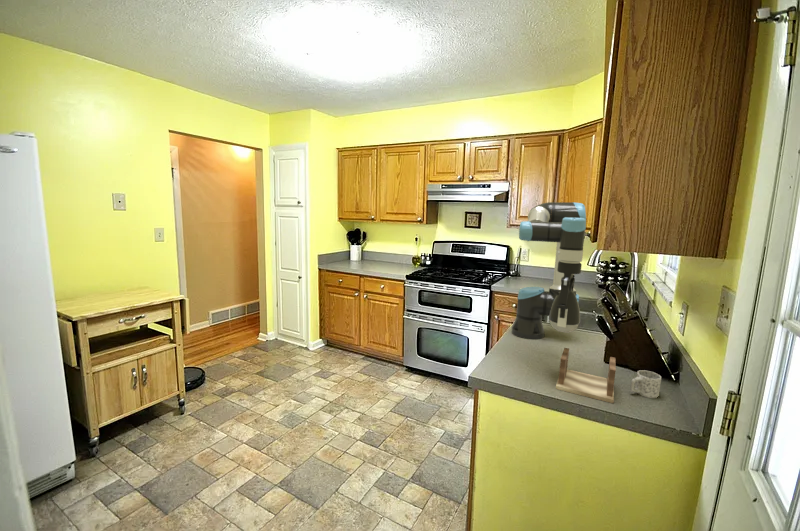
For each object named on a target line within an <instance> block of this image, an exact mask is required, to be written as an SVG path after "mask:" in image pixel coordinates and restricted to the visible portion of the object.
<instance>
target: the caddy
mask: <svg viewBox="0 0 800 531" xmlns="http://www.w3.org/2000/svg"><path fill="white" fill-rule="evenodd" d="M569 355H570V348H568V347H564V348H563V351H562V354H561V356H560V361H559V368H558V369H559V370H558V378H557V381H556V384H555V390H558V391H562V392H567V393H571V394H575V395H578V396H579V395H580V396H583V397H587V398H591V399H594V400H599V401H603V402H606V403H611V404H614V402H615V401H614V400H615V397H614V396H615V395H614V394H615V393H614V392H615V379H616V378H615V377H616V370H617V369H616V365H617V364H616V357H613V356H610V357H609V363H608V370H607V377H603V376H599V375H595V374H589V373H585V372H582V371H581V372H580V371H576V370H571V369H568V365H569V357H570V356H569Z"/></svg>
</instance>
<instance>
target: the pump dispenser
mask: <svg viewBox="0 0 800 531" xmlns="http://www.w3.org/2000/svg"><path fill="white" fill-rule="evenodd" d="M551 291H552V292H553V293H555V294H556V295H557V296H556V298H555V299H554V301H553V304H552V306H551V310H550V314H549V316H548V320H549V323H550V325H551V327H552V328H553V329H554V330H555V331H558V332H561V333H571V332H574V331H576V330H577V328H578V327H579V324H580V323H581V310H580V306H579V302H578V301H577V298H576V296H575V294H574V292H573V291H572V290H571V291H570V293H569V299H568V305H567V309H568V311H567V321H566V328H565V327H560V326H557V322H558V312H559V308H557V306H558V305H559V298H560V292H558V291H556V290H554V289H552V290H551ZM563 305H565V304H563Z"/></svg>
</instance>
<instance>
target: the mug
mask: <svg viewBox="0 0 800 531" xmlns="http://www.w3.org/2000/svg"><path fill="white" fill-rule="evenodd" d="M661 383H662V376H661V375H660V374H658V373H656V372H654V371H650V370H645V369H644V370H641V369H640V370H637V373H636V377H634V378H632V379H631V380H630V385H629V386H630V387H629V388H630V392H632V393H637V395H640V396H641V397H646V398H649V399H657V397H658V396H660V389H661ZM658 398H659V397H658Z"/></svg>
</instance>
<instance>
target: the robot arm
mask: <svg viewBox="0 0 800 531" xmlns="http://www.w3.org/2000/svg"><path fill="white" fill-rule="evenodd" d="M586 228H587V213H586V206H585V204H583V203H582V202H575V201H574V202H570V201H569V202H564V201H563V202H559V201H558V202H557V201H555V202H554V201H553V202H552V201H551V202H549V201H548V202H544V203H540V204H537V205H535V206H533V207H532V208H531V209H530V210H529V212H528V213H527V221H526V220H525V221H524V220H523V221H521V222H520V223H519V229H518V231H519V232H518V238H519V240H521V241H527V242H543V243H544V242H547V243H549V242H550V243H556V248H555V249H556V251H555V258H554V259H555V261H554V268H553V269H554V271H553V281H552V283H553V284H552V285H551V286H549V288H548V291H546V290H545V288H544V287H541V286H526V287H525V286H524V287H522V288H520V289H519V290H518V294H517V304H516V305H517V306H516V315H515V316H516V317H515V319H514V322H513V324H512V327H511V334H513V335H514V336H517V337H519V338H522V339H528V340H540V339H543V338H544V337H545V329H544V326H543V322H542V320H543V319H542V318H543V316H544V317H545V316H547V317H549V314H550V310H551V306H552V304H553V301H554V299H555V298H556V296H557V295H556V294H555V293H553V292H552V291H551V290H552V289H554V290H556V291H558V292H560V298H559V305H558V306H557V308H559V312H558V322H557V326H560V327H565V328H566V321H567V311H568V309H567V305H568V299H569V293H570V291H571V290H572V291H573V292H574V294H575V296H576V298H577V301H578V303H579V302H580V301H579V299H580V295H579V294H578V293H577V289H575V280H576V278H575V275H579V274H581V273H582V265H583V264H582V263H581V262H582V261H583V259H584V258H583V256H584V244H585V235H586V230H587V229H586ZM563 304H565V305H563Z"/></svg>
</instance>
